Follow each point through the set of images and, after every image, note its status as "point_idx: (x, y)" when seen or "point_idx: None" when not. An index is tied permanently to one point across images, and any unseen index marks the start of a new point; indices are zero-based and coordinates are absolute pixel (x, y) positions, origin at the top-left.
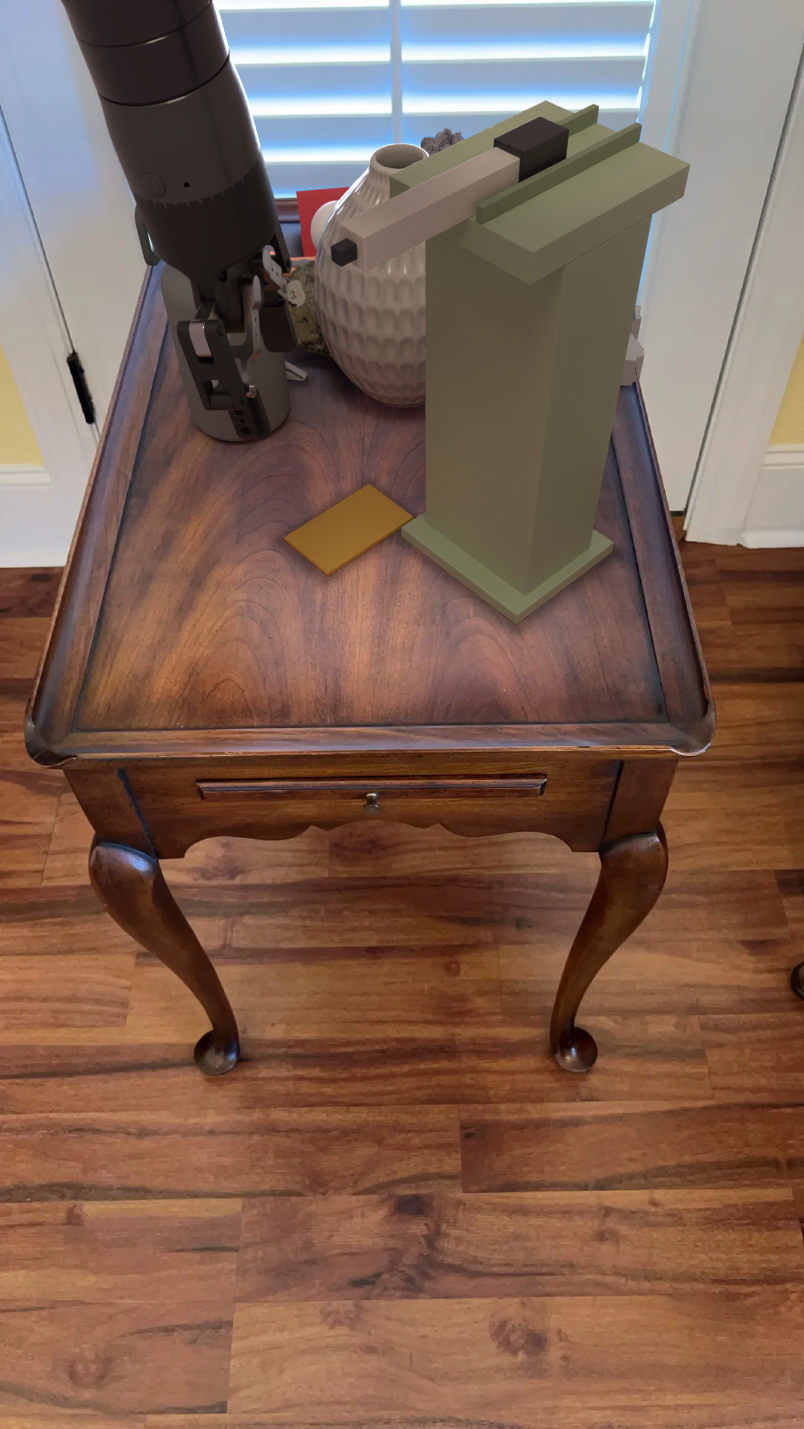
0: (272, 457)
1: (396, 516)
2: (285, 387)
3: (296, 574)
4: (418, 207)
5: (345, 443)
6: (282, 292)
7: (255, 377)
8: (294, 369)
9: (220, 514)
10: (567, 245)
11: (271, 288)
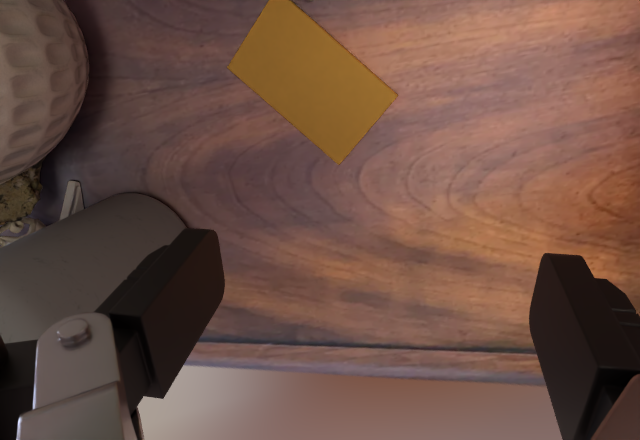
0: (206, 200)
1: (280, 15)
2: (111, 204)
3: (397, 138)
4: None
5: (163, 113)
6: (100, 344)
7: (619, 403)
8: (69, 197)
9: (307, 245)
10: None
11: (127, 417)
